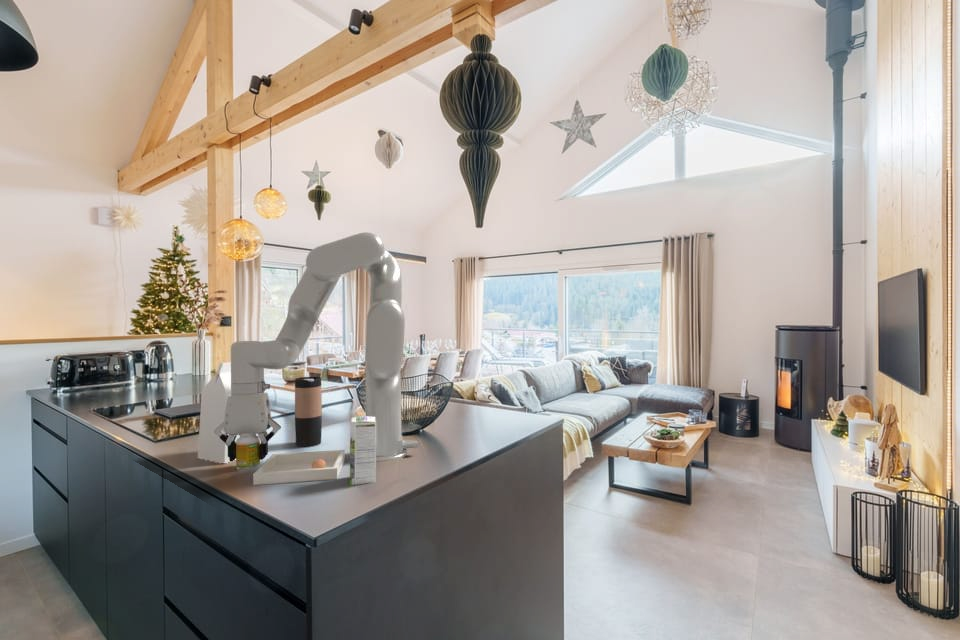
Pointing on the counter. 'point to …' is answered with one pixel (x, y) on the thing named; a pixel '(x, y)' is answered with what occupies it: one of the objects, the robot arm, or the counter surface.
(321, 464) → the ball
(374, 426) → the syrup box
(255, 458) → the supplement bottle
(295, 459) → the tray
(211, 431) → the milk
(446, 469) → the counter surface
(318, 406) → the travel mug
